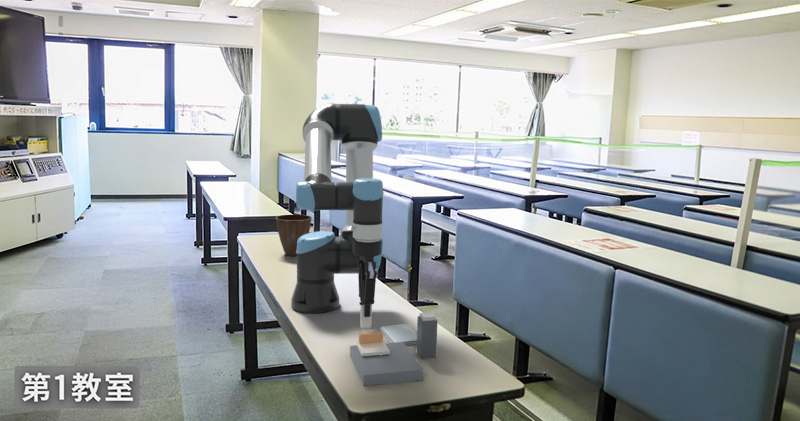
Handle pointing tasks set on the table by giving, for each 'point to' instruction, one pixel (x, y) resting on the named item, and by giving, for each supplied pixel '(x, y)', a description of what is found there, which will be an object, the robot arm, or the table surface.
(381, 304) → the table surface
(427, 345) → the grey block
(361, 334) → the shutter
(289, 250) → the plant pot
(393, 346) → the socket plate
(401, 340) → the hard drive
